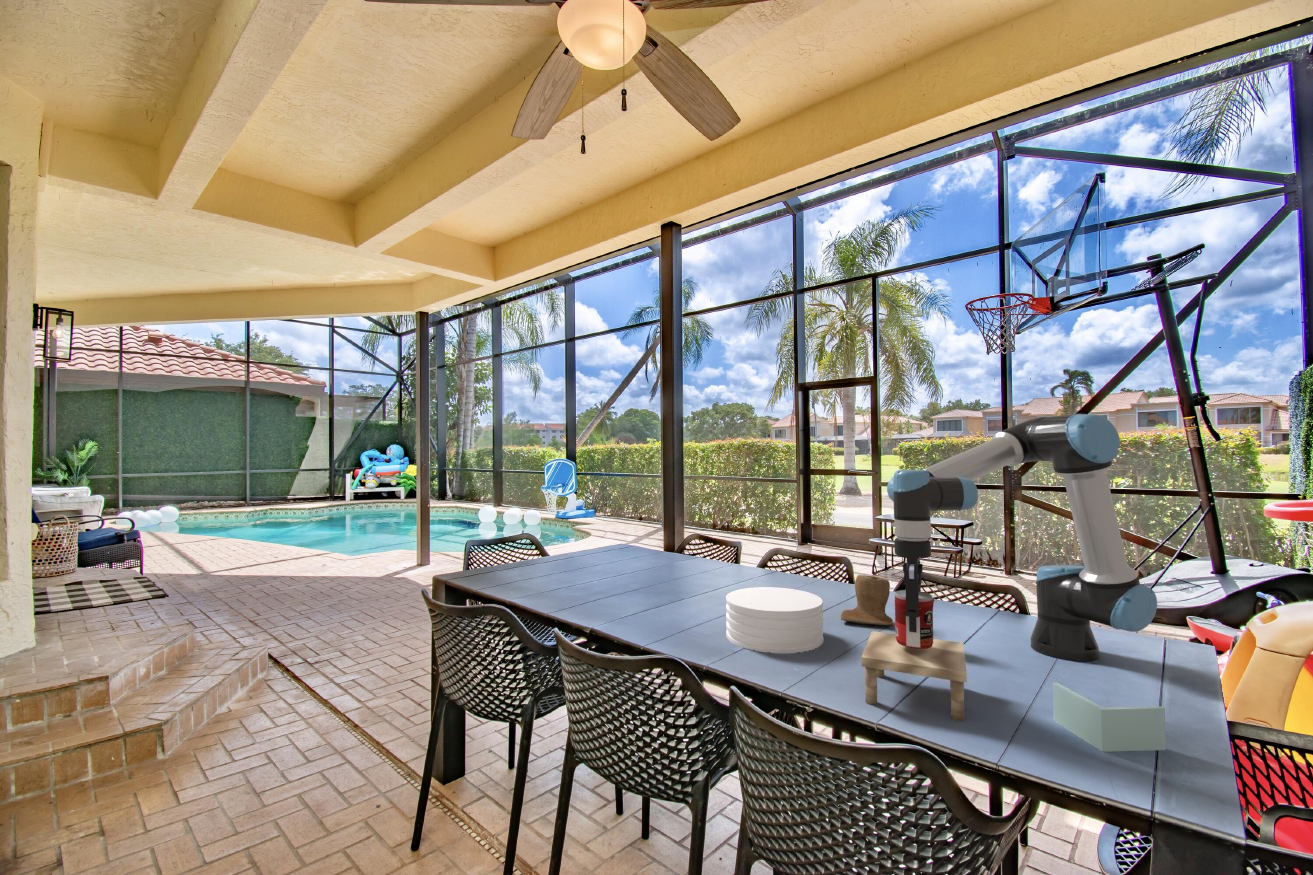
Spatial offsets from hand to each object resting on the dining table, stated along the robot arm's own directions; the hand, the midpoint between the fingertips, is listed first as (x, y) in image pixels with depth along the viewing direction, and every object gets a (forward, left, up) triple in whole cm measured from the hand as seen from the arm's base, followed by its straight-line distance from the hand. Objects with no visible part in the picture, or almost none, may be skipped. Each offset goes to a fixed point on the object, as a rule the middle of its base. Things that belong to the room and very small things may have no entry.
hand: (914, 640), depth 128 cm
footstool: (0, 0, -12) cm, 12 cm away
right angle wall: (-34, +3, -12) cm, 36 cm away
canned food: (0, 0, -1) cm, 1 cm away
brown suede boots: (+16, -53, -12) cm, 57 cm away
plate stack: (+39, -26, -13) cm, 49 cm away
